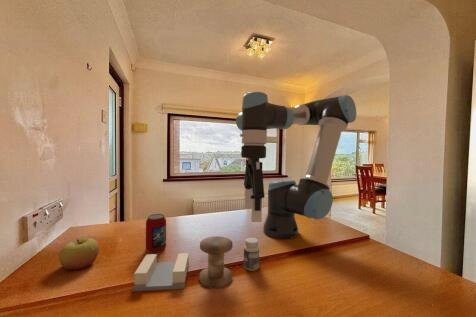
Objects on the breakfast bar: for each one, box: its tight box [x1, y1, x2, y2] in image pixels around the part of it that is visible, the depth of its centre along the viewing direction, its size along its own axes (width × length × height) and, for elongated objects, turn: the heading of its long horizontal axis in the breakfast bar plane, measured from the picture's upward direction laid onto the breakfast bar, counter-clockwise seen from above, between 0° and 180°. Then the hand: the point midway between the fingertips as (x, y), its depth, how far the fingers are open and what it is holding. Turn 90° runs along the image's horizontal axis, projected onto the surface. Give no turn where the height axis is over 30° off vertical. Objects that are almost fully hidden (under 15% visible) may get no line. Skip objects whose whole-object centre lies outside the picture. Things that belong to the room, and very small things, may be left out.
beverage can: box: [145, 213, 167, 254], centre depth 77 cm, size 7×7×12 cm
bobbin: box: [199, 236, 233, 289], centre depth 60 cm, size 9×9×10 cm
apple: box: [58, 237, 100, 271], centre depth 65 cm, size 10×10×8 cm
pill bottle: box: [243, 237, 260, 271], centre depth 66 cm, size 5×5×8 cm
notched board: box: [132, 252, 190, 292], centre depth 61 cm, size 12×12×4 cm
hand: (252, 214), depth 66 cm, fingers open, 13 cm apart
